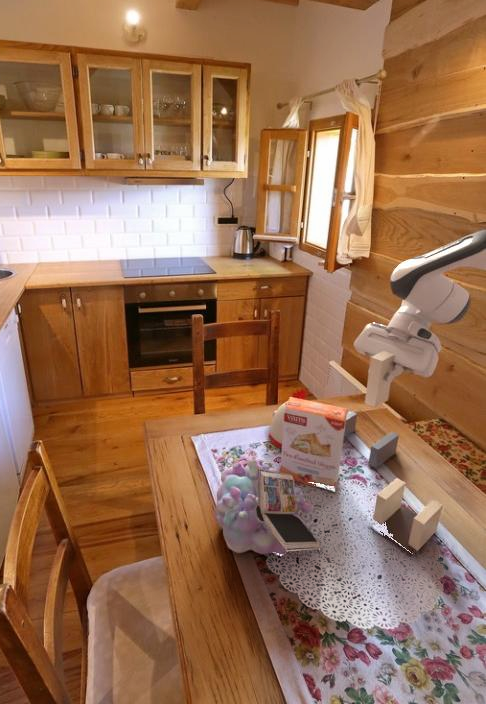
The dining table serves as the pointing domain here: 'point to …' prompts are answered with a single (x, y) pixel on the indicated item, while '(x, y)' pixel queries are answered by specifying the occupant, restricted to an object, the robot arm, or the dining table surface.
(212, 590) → the dining table surface
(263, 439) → the dining table surface
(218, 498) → the pastel bumpy hinged case
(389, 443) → the grey book
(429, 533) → the cream book
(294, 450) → the cracker box
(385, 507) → the cream book
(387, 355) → the tall beige block
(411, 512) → the dark flat slab
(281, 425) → the kitchen timer
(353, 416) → the grey book
